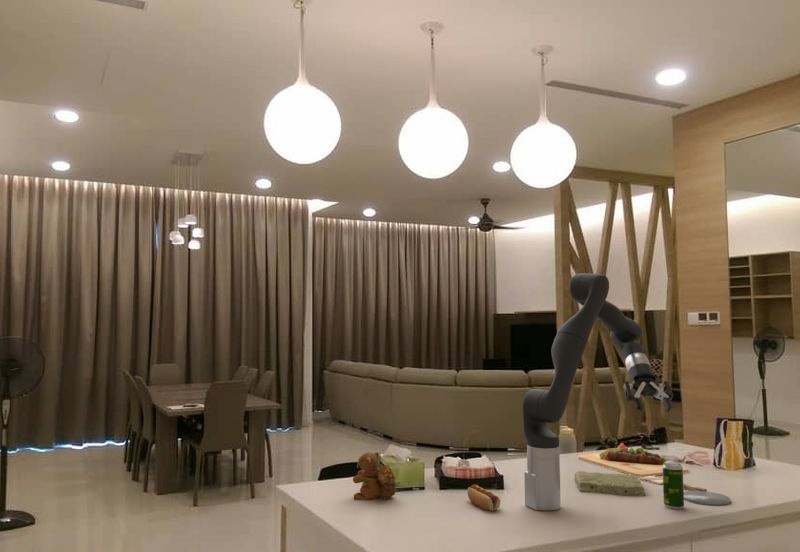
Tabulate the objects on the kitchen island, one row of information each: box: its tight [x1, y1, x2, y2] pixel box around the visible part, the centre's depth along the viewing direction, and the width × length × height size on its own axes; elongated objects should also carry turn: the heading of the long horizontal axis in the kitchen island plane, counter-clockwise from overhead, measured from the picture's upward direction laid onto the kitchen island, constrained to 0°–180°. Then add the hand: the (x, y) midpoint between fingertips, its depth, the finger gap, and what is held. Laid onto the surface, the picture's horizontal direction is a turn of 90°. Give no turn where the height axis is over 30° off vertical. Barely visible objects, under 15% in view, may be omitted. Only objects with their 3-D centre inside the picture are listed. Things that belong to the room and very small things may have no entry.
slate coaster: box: [684, 490, 731, 506], centre depth 190 cm, size 13×13×1 cm
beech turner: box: [639, 476, 708, 492], centre depth 206 cm, size 22×6×1 cm, turn 30°
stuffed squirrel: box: [352, 451, 398, 501], centre depth 192 cm, size 10×14×13 cm
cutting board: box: [577, 442, 689, 478], centre depth 237 cm, size 35×23×8 cm
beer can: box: [662, 462, 685, 510], centre depth 182 cm, size 5×5×12 cm
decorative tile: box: [574, 470, 646, 496], centre depth 204 cm, size 19×20×4 cm
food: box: [467, 484, 501, 512], centre depth 183 cm, size 14×6×5 cm, turn 22°
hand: (654, 410), depth 195 cm, fingers open, 8 cm apart
